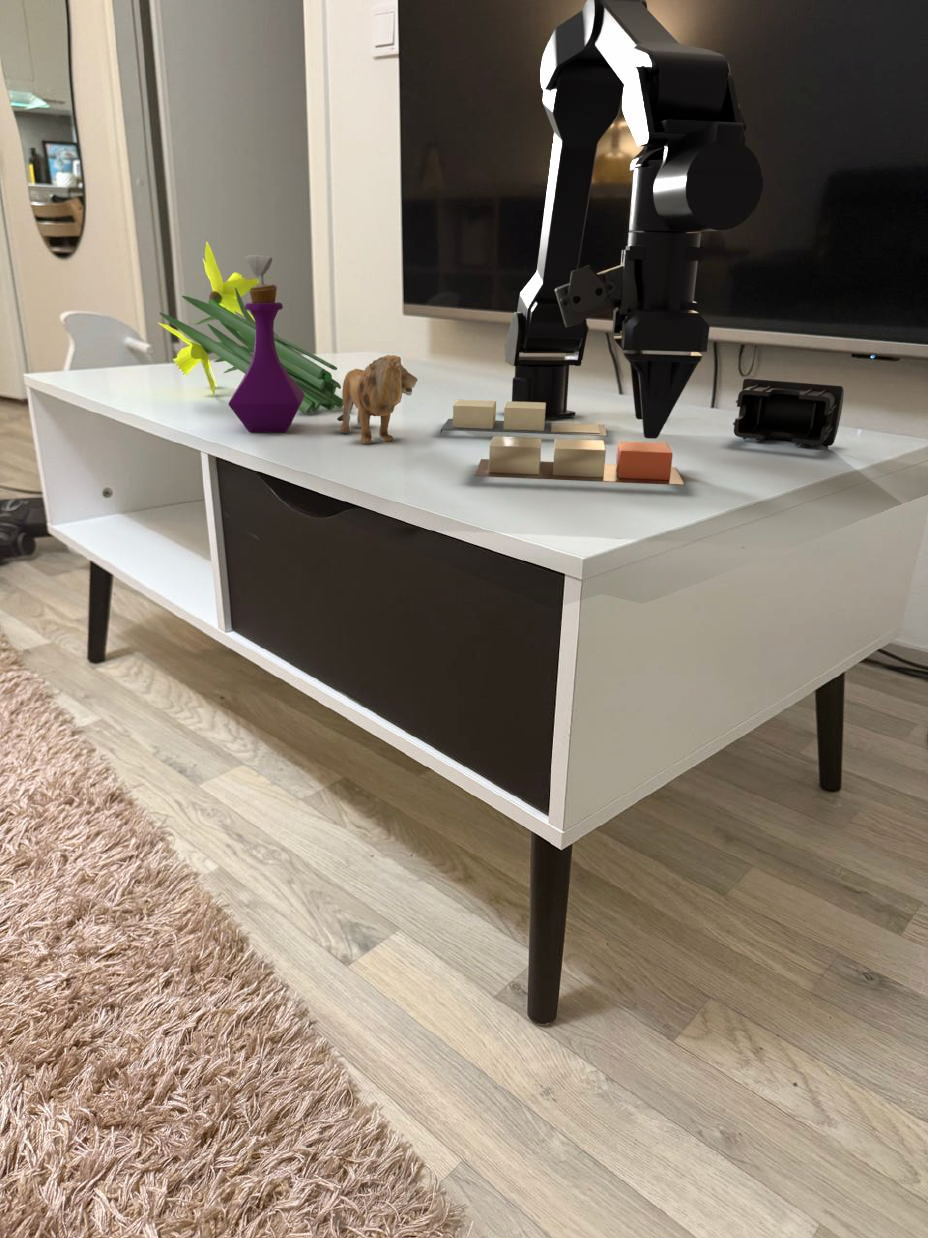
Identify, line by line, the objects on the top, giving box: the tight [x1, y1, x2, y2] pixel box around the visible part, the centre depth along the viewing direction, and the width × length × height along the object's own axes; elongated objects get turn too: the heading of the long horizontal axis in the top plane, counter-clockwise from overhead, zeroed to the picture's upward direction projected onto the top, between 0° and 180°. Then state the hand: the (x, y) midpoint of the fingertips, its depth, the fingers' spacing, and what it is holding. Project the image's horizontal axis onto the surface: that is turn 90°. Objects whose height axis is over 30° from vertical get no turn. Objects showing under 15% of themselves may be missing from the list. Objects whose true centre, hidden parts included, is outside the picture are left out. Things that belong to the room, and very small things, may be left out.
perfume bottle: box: [228, 254, 305, 433], centre depth 97 cm, size 8×8×18 cm
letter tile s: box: [615, 440, 674, 480], centre depth 80 cm, size 4×4×2 cm
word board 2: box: [473, 435, 686, 486], centre depth 80 cm, size 18×7×3 cm, turn 84°
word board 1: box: [439, 399, 608, 437], centre depth 100 cm, size 18×7×3 cm, turn 84°
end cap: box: [732, 378, 845, 449], centre depth 95 cm, size 10×7×7 cm
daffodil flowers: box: [156, 241, 343, 415], centre depth 120 cm, size 17×15×35 cm
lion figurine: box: [336, 354, 418, 445], centre depth 96 cm, size 15×5×9 cm, turn 33°
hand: (645, 428), depth 79 cm, fingers open, 9 cm apart
